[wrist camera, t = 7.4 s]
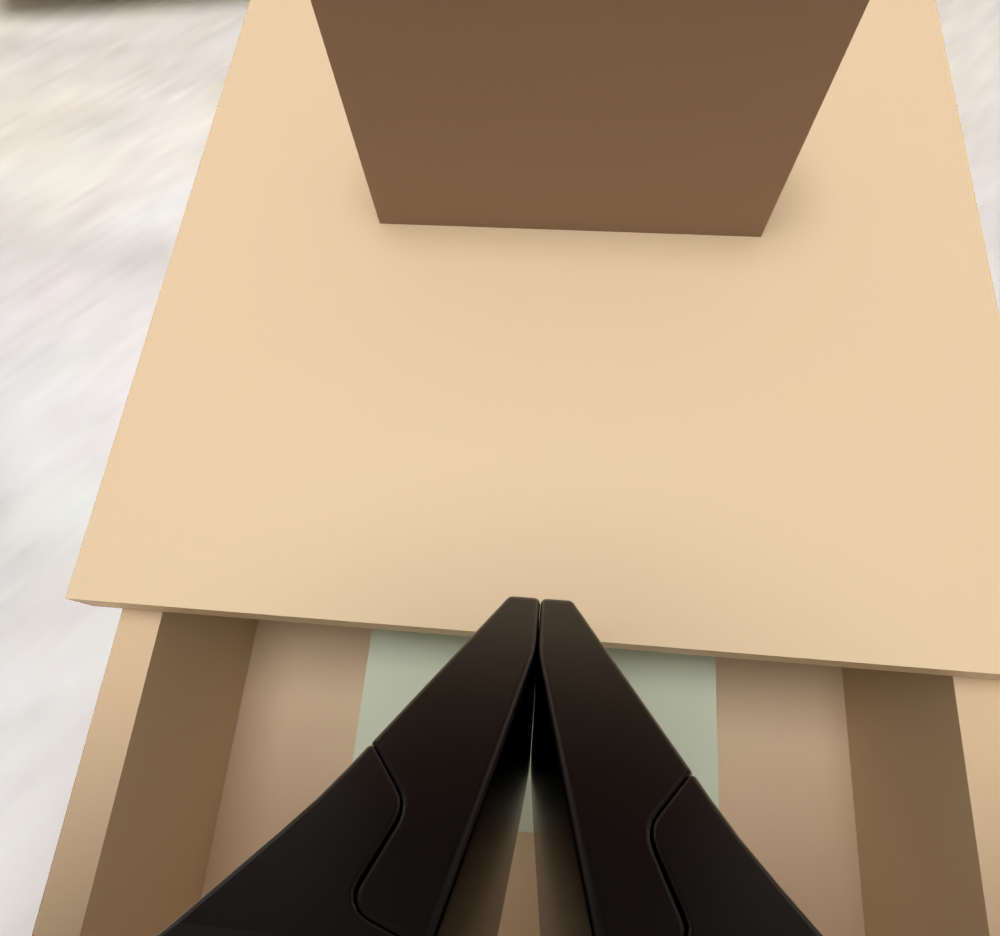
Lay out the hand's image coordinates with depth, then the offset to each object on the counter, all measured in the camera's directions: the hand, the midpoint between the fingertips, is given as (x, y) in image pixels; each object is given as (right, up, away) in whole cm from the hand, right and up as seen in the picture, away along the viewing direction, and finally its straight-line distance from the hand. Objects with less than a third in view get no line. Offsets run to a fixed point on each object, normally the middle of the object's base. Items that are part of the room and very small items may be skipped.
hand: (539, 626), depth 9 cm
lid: (+1, +9, +7) cm, 11 cm away
